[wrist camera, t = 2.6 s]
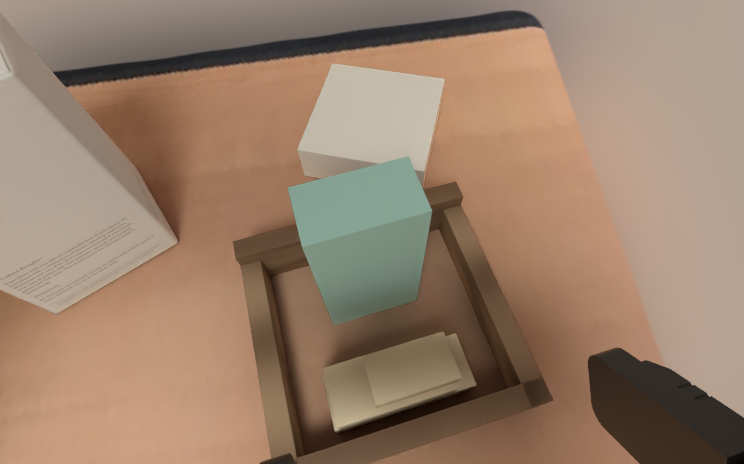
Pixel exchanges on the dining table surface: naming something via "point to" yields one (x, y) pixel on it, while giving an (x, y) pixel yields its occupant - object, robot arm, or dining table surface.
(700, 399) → the robot arm
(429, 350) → the offcuts
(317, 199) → the tall block
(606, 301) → the dining table surface
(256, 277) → the square wooden frame
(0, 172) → the supplement box
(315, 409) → the dining table surface
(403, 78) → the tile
